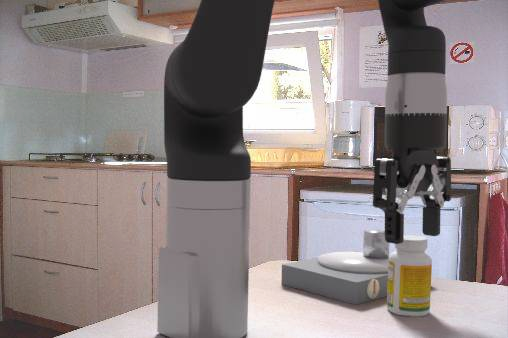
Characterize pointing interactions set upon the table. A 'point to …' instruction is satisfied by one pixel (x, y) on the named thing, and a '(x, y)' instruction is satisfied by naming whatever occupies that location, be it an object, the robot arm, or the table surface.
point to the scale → (340, 276)
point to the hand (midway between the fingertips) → (413, 239)
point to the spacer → (375, 245)
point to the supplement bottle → (409, 278)
